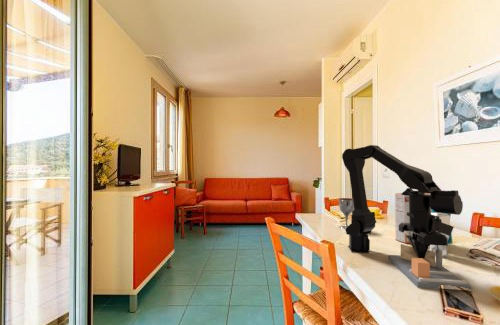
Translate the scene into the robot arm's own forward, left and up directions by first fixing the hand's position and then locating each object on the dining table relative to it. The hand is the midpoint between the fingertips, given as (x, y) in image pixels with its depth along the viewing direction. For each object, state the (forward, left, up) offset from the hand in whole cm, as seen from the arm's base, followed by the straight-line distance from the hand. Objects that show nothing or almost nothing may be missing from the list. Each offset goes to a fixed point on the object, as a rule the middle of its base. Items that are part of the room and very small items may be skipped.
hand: (421, 260), depth 80 cm
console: (0, -1, -3) cm, 3 cm away
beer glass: (+14, +17, -3) cm, 22 cm away
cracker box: (+13, +34, -4) cm, 37 cm away
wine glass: (-11, +53, -4) cm, 55 cm away
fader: (-4, -8, -2) cm, 9 cm away
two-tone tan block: (0, +3, -2) cm, 4 cm away
